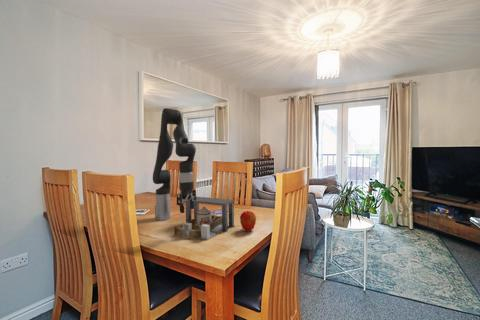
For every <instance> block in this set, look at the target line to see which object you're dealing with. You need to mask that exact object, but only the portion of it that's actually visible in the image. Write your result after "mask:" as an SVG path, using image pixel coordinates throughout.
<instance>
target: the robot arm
mask: <svg viewBox="0 0 480 320" xmlns="http://www.w3.org/2000/svg"><path fill="white" fill-rule="evenodd" d="M161 112H162V113H161V121H160V130H159V132H160V133H159V139H158V144H157V152H156V158H155V164H154V167H153V171H152V172H153V173H152V182H153V184H155V185H161V186H160V187H159V188H157V189H156V190H155V205H154V219H155V220H156V221H168V220H171V180H172V179H171V177H172V175H171V172H170V170H169V169H163V167H164V165H165V164H166V162H167V161H168V160H169V159H170V157H172V154H173V151H174V142H173V140H172V138H171V135H170V134H169V131H168V125H173V126H174V125H175V127H174V130H173V132H172V136H173V139H174V141H175V154H176V156H178V157H180V158H181V157H183V158H184V157H185V158H187V159H186V160H182V161H179V163H178V165H179V168H178V169H179V173H178V178H179V179H178V185H179V191H180V193H177V194H176V206H179V212H180V213H181V214H184V213H185V205H186V201H187V200H188V199H189V201H190V209H191V210H194V201H195V200H196V197H197V190H196V189H194V188H195V186H194V185H195V181H194V178H195V177H194V167H193V166H194V159H195V155H196V152H197V149H196V146H195V144H194V143H189V137H188V135H187V132H186V131H185V126H184V120H183V116H182V113H181V111H180V110H178V109H173V108H167V107H166V108H163V109H162V111H161Z"/></svg>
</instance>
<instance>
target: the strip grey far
mask: <svg viewBox="0 0 480 320" xmlns="http://www.w3.org/2000/svg"><path fill="white" fill-rule="evenodd" d="M211 232H212V233H215V234H219V233H220V232H222V225H218V226H217V227H215V228H214V229H212V230H211Z"/></svg>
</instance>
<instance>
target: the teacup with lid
mask: <svg viewBox="0 0 480 320" xmlns="http://www.w3.org/2000/svg"><path fill="white" fill-rule="evenodd" d="M211 215H214V218H213V219H212V220H211ZM216 216H217V215H216V213H214V212H212V210H210V209H208V208H206V207H205V206H203V207H202V208H201V209H200V208H199V210H198V211H197V225H196V227H197V228H199V229H201V225H203V224H207V225H209V224H211V223H212V222H211V221H213V220H214V219H215V217H216Z"/></svg>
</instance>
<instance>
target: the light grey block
mask: <svg viewBox="0 0 480 320" xmlns="http://www.w3.org/2000/svg"><path fill="white" fill-rule="evenodd" d="M200 229H201V237H200V239H199V240H204V241H205V240H206V241H208V240H210V239H211V238H213V237H214V236H215V235H216V233H213V232H210V225H207V224H203V225H201V228H200Z"/></svg>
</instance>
